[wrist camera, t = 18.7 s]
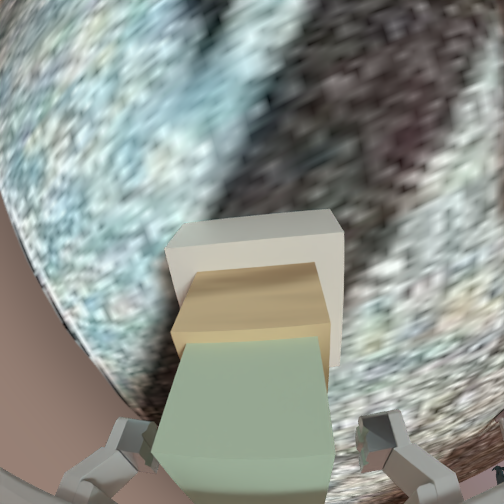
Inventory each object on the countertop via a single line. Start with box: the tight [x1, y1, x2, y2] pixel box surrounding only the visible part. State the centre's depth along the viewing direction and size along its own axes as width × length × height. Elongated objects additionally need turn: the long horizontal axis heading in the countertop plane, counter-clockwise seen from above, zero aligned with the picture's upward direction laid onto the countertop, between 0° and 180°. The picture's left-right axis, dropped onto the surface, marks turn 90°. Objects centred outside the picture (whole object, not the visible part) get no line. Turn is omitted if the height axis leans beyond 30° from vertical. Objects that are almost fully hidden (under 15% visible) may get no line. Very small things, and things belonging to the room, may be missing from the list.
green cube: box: [151, 336, 335, 504], centre depth 10 cm, size 5×5×5 cm
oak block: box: [170, 262, 331, 393], centre depth 14 cm, size 6×6×5 cm
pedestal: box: [164, 209, 344, 367], centre depth 19 cm, size 9×9×4 cm
